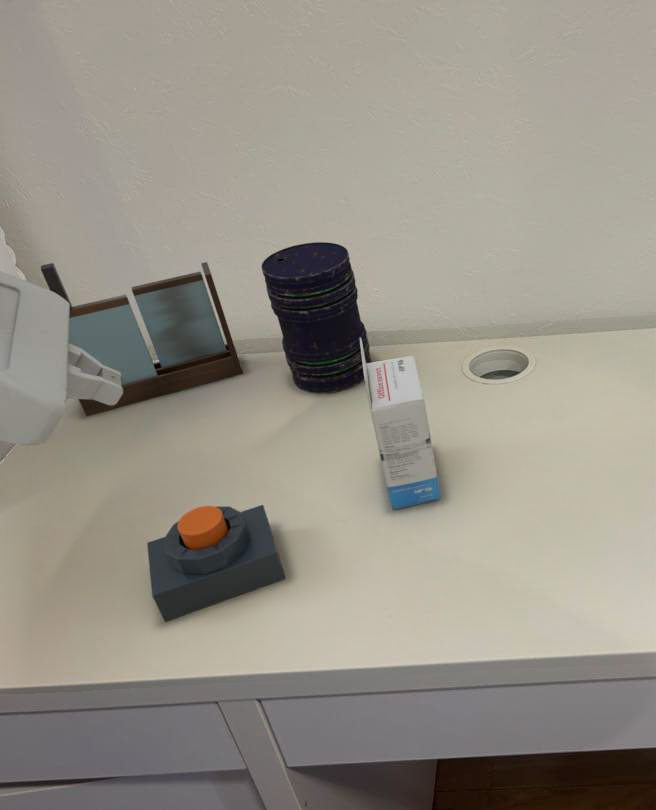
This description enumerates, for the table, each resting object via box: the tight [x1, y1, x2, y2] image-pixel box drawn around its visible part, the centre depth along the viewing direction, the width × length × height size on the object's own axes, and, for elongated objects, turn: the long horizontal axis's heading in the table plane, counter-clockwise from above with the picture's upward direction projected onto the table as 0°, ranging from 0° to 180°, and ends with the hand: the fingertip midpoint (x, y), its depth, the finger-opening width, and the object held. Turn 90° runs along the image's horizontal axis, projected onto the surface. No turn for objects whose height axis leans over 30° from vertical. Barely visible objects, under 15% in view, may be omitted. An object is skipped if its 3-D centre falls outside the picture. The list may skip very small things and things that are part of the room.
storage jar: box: [260, 241, 373, 395], centre depth 94 cm, size 10×10×15 cm
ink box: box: [360, 337, 441, 510], centre depth 75 cm, size 8×5×15 cm, turn 14°
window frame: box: [77, 261, 244, 417], centre depth 94 cm, size 18×4×14 cm, turn 116°
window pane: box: [40, 262, 158, 385], centre depth 90 cm, size 8×1×16 cm, turn 116°
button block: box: [146, 504, 287, 623], centre depth 69 cm, size 10×7×5 cm
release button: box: [177, 505, 228, 549], centre depth 67 cm, size 4×4×2 cm
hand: (119, 390), depth 65 cm, fingers closed
